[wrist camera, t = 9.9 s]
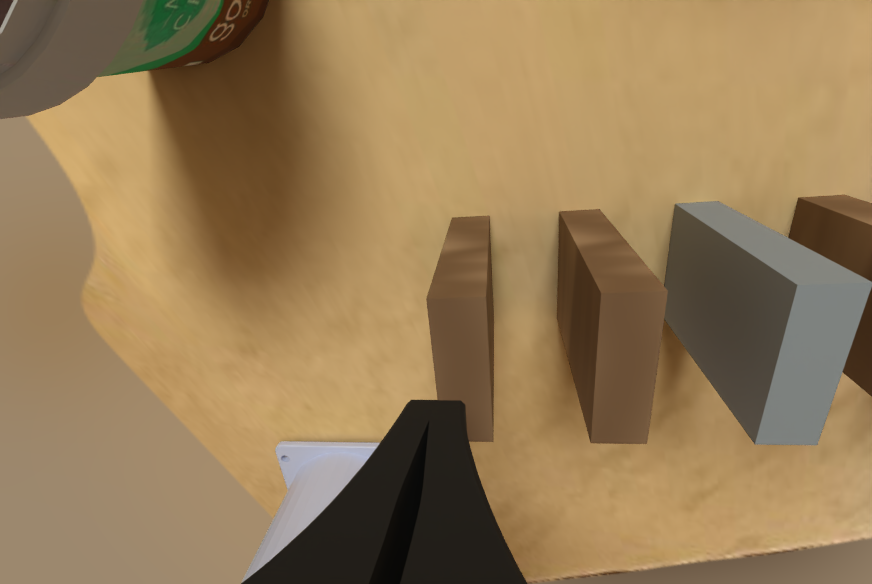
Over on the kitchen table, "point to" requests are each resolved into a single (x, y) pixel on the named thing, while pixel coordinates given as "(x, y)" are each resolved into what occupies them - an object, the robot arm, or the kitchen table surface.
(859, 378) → the walnut domino
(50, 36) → the food container
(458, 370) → the walnut domino
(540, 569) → the kitchen table surface
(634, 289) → the walnut domino
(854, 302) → the grey domino
